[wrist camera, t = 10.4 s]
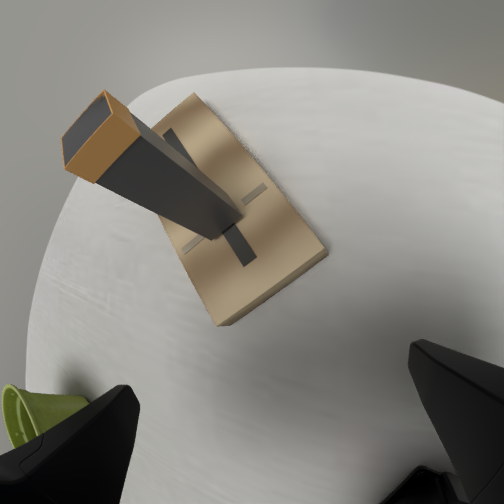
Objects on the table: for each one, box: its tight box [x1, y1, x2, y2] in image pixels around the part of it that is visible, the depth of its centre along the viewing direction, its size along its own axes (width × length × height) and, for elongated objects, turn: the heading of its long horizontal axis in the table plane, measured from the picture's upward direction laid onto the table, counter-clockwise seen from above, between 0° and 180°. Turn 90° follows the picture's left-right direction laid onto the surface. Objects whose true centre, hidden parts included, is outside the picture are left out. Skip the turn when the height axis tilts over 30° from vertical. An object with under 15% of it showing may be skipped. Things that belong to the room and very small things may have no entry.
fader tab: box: [61, 90, 242, 241], centre depth 13 cm, size 2×3×11 cm
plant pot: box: [2, 384, 89, 449], centre depth 19 cm, size 9×9×9 cm
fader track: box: [151, 93, 328, 326], centre depth 21 cm, size 18×8×2 cm, turn 33°
